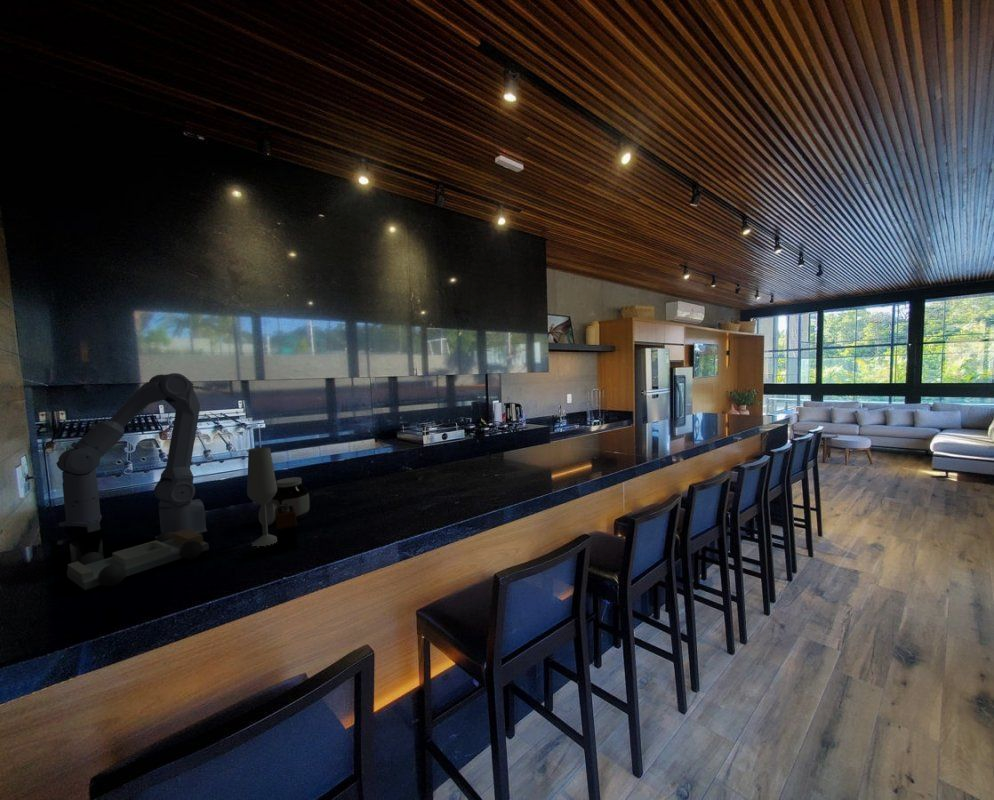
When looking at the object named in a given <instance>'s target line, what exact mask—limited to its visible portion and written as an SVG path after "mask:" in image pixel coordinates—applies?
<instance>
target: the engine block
mask: <svg viewBox="0 0 994 800" xmlns="http://www.w3.org/2000/svg"><path fill="white" fill-rule="evenodd" d="M103 548H104V547H103V540H102V539H101V542H100V546H99V551H98V553H99V554H101V555H102V556H103V557H104V549H103ZM69 552H70V562H71V563H74V562H77V561H79V559H80V558H81V557H82V554H81V551H80V547H79V545H78V543H77V542H74V543H72V542H71V543H70V542H69Z"/></svg>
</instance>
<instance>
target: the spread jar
mask: <svg viewBox="0 0 994 800" xmlns="http://www.w3.org/2000/svg"><path fill="white" fill-rule="evenodd" d="M276 484H277V492H276V494H275V496H274V497H273V498H272V499H271V500H270V501H269V502H268V503H267V504H266V512H267V526H270V525H272V524H273V523H274V522H275V521H276V517H275V509H276V508H280V505H282V504H286V503H287V504H289V506H294V507H295V511H296V521H299V520H301V519H303V518H304V517H305V516H307V514H308V512H309V511H310V493H309V490H308V488H307V487H306V486H304V485H303V484H302V478H301V477H299V476H298V477H297V476H294V477H286V478H281V479H278V480H276ZM258 511H259V512H258V521H259V524H261V525H262V516H261V507H260V508H259V510H258Z"/></svg>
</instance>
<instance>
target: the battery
mask: <svg viewBox="0 0 994 800" xmlns="http://www.w3.org/2000/svg"><path fill="white" fill-rule="evenodd" d="M275 517H276V520H275V529H276V537H277V543H276V544H277V551H278V553H280V552H286V551H291V550H295V548H296V549H297V548H298V547H299V539H298V538H299V537H298V523H297V521H298V520H296V511H295V507H294V506H289V504H287V503H286V504H282V505H280V508H276V509H275Z"/></svg>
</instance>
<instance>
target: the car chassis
mask: <svg viewBox="0 0 994 800" xmlns="http://www.w3.org/2000/svg"><path fill="white" fill-rule="evenodd" d="M157 536H158V537H157V538H155V540H151V541H148V542H145V543H142V544H139V545H134V546H131V547H128V548H124V549H120V550H117V551H113V552H112V553H111V555H112V556H111V557H108V558H105V557H104V555H103V556H102V555H101V554H99V553H97V552H90V553H87V554H85V555H83V556H82V557H81V558H80V559H79V561H77V562H74V563H68V564H67V569H66V574H67V578H68V579H70V580H71V581H72V582H73V583H75V585H77V586H78V587H80V588H81V589H82V590H84V591H87V590H90V589H93V588H95V587H99V586H102V585H103V586H105V587H114V586H117V585H119V584H120V583H122V582H123V581H124V579H126V577H129V576H132V575H135V574H138V573H142V572H144V571H148V570H150V569H153V568H156V567H157V568H158V567H160V566H163V565H165V564H169V563H172V562H175V561H178V560H181V559H185V560H189V561H190V560H194V559H197V557H199V556H200V555H201V553H202V552H204V551H208V550H210V545H209V542H206V541H204V535H203V533H200V534H199V533H196V532H193V531H190V530H188V529H185V530H181V531H178V532H174V533H173V532H170V531H166V532H163V533H161V532H160V533H159V534H158V535H157Z"/></svg>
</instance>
